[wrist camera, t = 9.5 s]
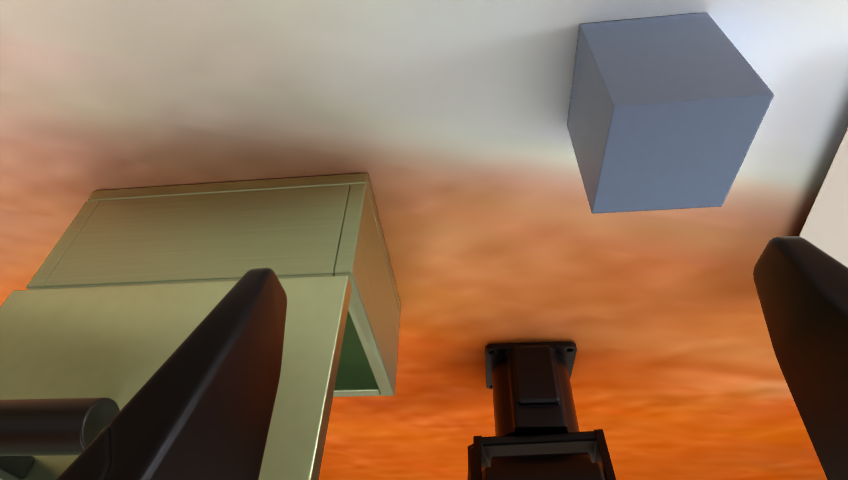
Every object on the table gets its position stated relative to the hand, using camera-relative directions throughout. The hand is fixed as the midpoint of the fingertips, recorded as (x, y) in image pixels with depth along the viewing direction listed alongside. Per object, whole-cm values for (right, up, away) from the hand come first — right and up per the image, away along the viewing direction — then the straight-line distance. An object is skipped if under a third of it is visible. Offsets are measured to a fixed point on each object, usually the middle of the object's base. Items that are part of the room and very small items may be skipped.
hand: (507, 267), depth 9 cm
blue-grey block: (+7, +7, +11) cm, 15 cm away
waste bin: (-11, 0, +20) cm, 23 cm away
